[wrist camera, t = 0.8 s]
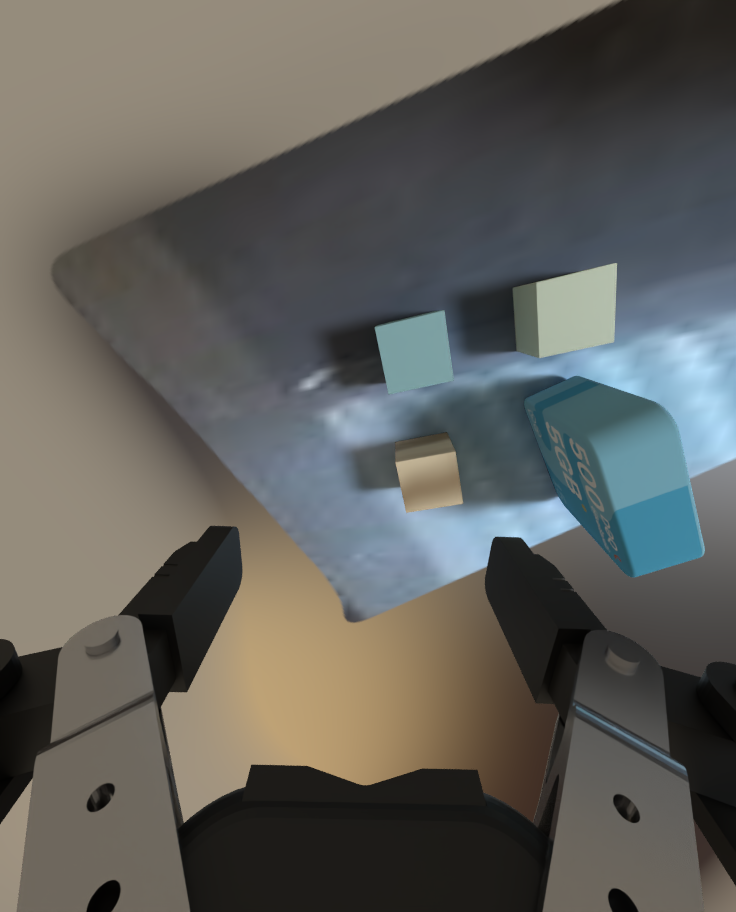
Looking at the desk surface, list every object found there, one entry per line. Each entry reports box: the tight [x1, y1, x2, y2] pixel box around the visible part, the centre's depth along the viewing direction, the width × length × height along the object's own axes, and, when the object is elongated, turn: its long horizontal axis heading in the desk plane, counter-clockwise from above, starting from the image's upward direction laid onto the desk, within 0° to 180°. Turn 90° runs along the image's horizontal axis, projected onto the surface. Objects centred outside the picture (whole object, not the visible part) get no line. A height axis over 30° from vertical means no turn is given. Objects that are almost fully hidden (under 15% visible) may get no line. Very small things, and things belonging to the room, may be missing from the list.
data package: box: [524, 376, 705, 577], centre depth 26 cm, size 12×4×12 cm, turn 28°
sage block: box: [513, 263, 617, 358], centre depth 26 cm, size 5×5×5 cm
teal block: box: [375, 310, 454, 394], centre depth 27 cm, size 5×5×5 cm
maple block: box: [395, 432, 463, 513], centre depth 31 cm, size 5×5×5 cm
